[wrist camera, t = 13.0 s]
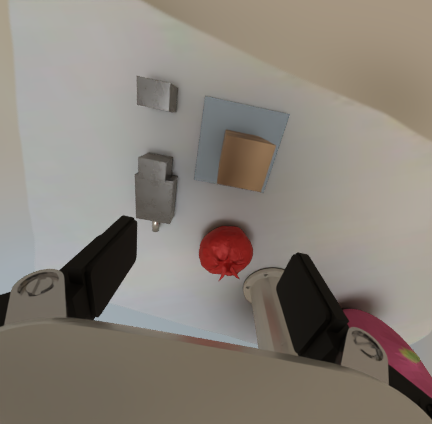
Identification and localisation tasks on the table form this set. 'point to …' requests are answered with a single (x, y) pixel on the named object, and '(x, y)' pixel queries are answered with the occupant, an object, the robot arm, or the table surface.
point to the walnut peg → (244, 160)
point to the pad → (235, 121)
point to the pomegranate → (225, 251)
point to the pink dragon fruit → (393, 348)
